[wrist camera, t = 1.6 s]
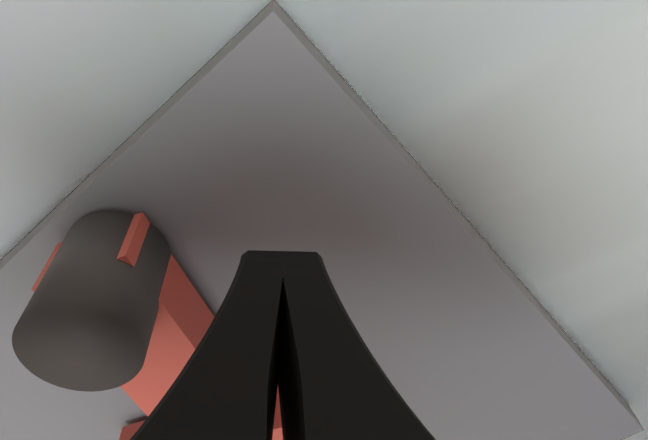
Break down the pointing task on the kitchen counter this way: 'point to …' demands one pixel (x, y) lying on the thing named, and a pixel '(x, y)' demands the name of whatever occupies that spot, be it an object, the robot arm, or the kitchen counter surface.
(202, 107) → the station
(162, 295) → the square frame with handle
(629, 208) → the kitchen counter surface
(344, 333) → the robot arm
